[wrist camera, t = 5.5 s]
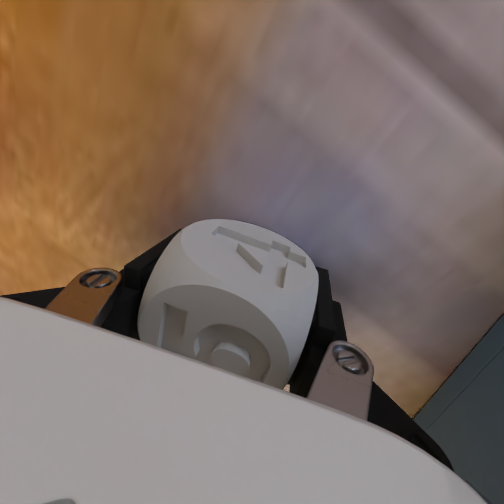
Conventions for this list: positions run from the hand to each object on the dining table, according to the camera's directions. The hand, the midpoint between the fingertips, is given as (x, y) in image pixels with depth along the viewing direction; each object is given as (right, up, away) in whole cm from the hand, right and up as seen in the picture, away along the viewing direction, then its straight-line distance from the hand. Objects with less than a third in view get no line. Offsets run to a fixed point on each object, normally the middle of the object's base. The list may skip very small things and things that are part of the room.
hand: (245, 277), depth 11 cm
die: (0, 0, +1) cm, 1 cm away
